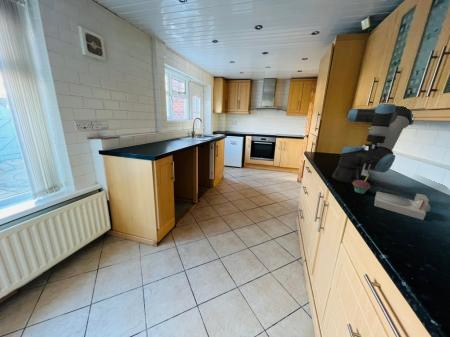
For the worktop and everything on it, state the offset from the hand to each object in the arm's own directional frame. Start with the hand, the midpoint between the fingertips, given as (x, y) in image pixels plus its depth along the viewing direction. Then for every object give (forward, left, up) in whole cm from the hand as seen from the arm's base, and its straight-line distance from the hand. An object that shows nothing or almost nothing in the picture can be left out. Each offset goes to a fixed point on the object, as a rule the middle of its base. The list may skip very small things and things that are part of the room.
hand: (364, 173), depth 103 cm
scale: (+8, +16, -12) cm, 21 cm away
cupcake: (0, 0, -12) cm, 12 cm away
